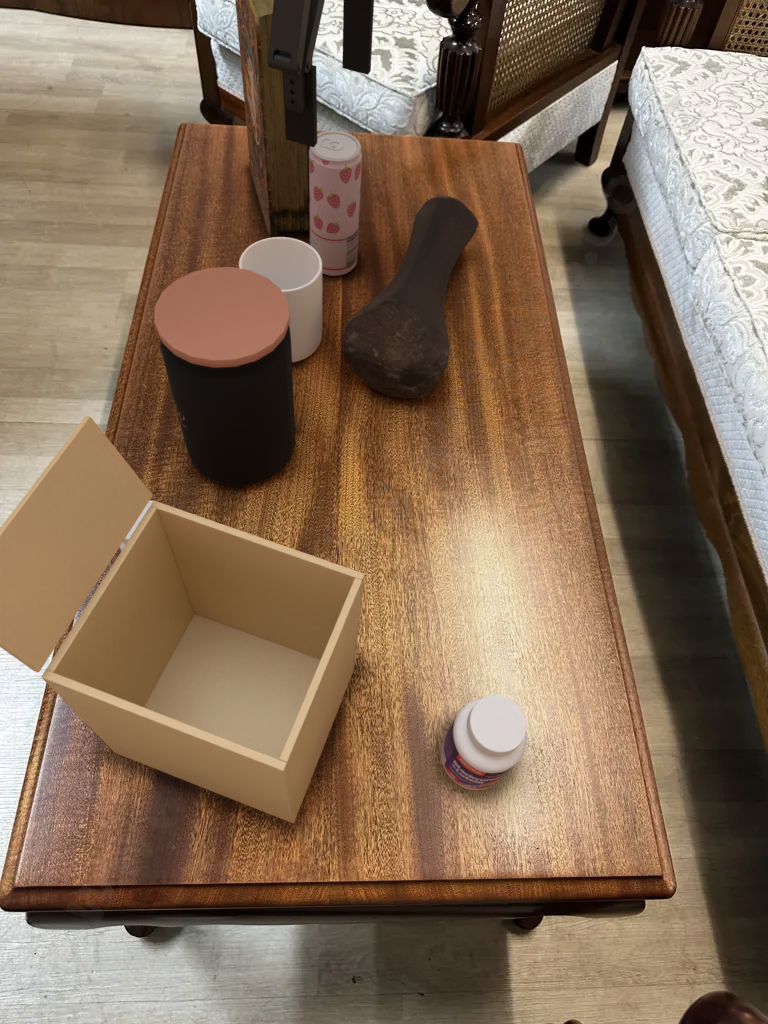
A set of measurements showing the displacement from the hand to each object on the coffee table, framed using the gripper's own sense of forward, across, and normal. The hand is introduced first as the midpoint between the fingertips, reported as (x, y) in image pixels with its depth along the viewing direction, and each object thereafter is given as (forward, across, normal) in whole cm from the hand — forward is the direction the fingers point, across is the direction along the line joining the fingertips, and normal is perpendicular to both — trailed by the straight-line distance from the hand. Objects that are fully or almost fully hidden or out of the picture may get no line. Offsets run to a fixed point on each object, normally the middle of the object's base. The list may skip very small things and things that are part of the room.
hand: (330, 104), depth 68 cm
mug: (+22, -11, +3) cm, 24 cm away
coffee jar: (+22, -26, -1) cm, 34 cm away
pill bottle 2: (+22, -46, -31) cm, 60 cm away
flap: (0, -50, -4) cm, 50 cm away
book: (+22, +12, +12) cm, 28 cm away
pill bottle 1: (+22, -41, 0) cm, 46 cm away
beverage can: (+22, +4, +1) cm, 22 cm away
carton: (+21, -50, -12) cm, 55 cm away
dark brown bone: (+22, -1, -11) cm, 24 cm away
